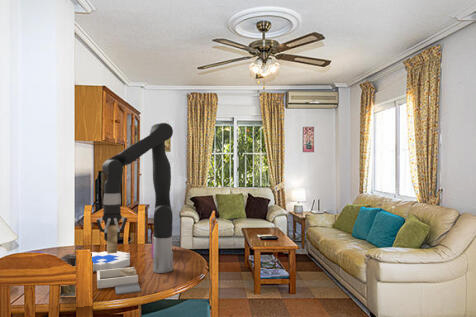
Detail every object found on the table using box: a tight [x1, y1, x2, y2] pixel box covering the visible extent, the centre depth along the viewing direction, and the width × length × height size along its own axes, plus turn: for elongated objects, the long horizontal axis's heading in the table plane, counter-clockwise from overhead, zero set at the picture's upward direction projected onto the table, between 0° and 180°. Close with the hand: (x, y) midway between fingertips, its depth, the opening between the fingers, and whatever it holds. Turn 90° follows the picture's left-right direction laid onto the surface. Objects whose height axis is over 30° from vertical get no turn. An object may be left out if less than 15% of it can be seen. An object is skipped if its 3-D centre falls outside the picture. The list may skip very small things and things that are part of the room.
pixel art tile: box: [91, 250, 131, 272], centre depth 187 cm, size 28×4×28 cm
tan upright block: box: [106, 225, 118, 254], centre depth 159 cm, size 4×10×12 cm, turn 23°
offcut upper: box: [121, 267, 137, 276], centre depth 162 cm, size 4×7×2 cm, turn 55°
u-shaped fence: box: [96, 266, 139, 289], centre depth 160 cm, size 17×15×4 cm
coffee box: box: [59, 253, 76, 297], centre depth 143 cm, size 9×6×16 cm
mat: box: [114, 282, 142, 295], centre depth 150 cm, size 10×10×1 cm
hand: (111, 240), depth 159 cm, fingers closed on tan upright block, 4 cm apart
